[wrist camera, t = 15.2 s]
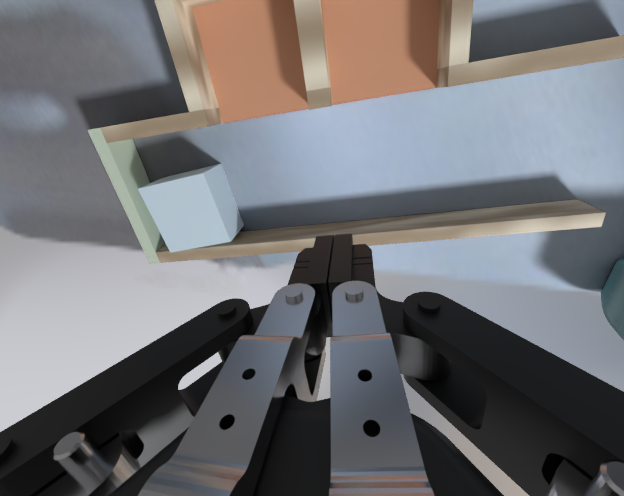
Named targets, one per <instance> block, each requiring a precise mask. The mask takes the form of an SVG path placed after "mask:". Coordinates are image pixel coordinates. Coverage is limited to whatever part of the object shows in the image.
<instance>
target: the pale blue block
mask: <svg viewBox="0 0 624 496" xmlns="http://www.w3.org/2000/svg"><path fill="white" fill-rule="evenodd" d="M138 191H139V193H140V194H141V196H142V198H143V200H144V202H145V204H146V206H147V208H148V210H149V212H150V214H151V216H152V218H153V220H154V222H155V224H156V226H157V228H158V229H159V231H160V233H161V235H162V237H163V239H164V241H165V243H166V245H167V247H168V249H169V251H170V253H171V252H177V251H182V250H188V249H193V248H199V247H204V246H210V245H216V244H221V243H227V242H231V241H232V240H233V238H234V237H235V236H236V235H237V233H238V232H239V231H240V230H241V228H242V227H243V226H244V224H243V221H242V218H241V216H240V213H239V210H238V207H237V205H236V202H235V199H234V197H233V194H232V191H231V189H230V186H229V183H228V181H227V178H226V175H225V173H224V170H223V167H222V165H221V164H217V165H213V166H209V167H204V168H200V169H196V170H192V171H188V172H184V173H180V174H176V175H172V176H168V177H164V178H161V179H159V180H156V181H154V182H152V183H150V184H147V185H145V186H143V187H141V188H138Z"/></svg>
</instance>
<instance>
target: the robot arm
mask: <svg viewBox="0 0 624 496" xmlns="http://www.w3.org/2000/svg"><path fill="white" fill-rule="evenodd" d="M326 337H331V340H330V374H331V375H330V377H331V378H330V381H331V398H329V399H324V400H320V401H317V396H318V392H319V387H320V381H321V377H322V371H323V367H324V362H325V356H326V353H325V345H326ZM217 352H219V355H220V357H221V359H222V362H221V363H220V364H218V365H217V366H216V367H214V368H213V369H211V370H210V371H209V372H207V373H206V374H205V375H203V376H202V377H200V378H199V379H198V380H197V381H195V382H194V383H192V384H191V385H190V386H188V387H187V388H185V389H182V390H178V384H179V382H180V380H181V379H182V377H183V376H184V375H185V374H187V373H188V372H190V371H191V370H192V369H194V368H195V367H197V366H198V365H199V364H201V363H203V362H204V361H205V360H207V359H208V358H210V357H211V356H213V355H214V354H215V353H217ZM400 373H401V374H403V375H404V378H405V380H406V382H407V383H408V384H409V385H410V386H411V387H412V388H413V389H414V390H415V391H416V392H417V393H418V394H419V395H421V396H422V397H423V398H424V399H425V400H426V401H427V402H428V403H429V404H430V405H431V406H433V407H434V408H435V409H436V410H437V411H438V412H439V413H440V414H441V415H443V416H444V417H445V418H446V419H447V420H448V421H449V422H450V423H451V424H452V425H453V426H454V427H455V428H457V429H458V430H459V431H460V432H461V433H462V434H463V435H464V436H465V437H466V438H468V439H469V440H470V441H471V442H472V443H473V444H474V445H475V446H476V447H477V448H478V449H480V450H481V451H482V452H483V453H484V454H485V455H486V456H487V457H488V458H489V459H490V460H492V462H494V463H495V464H496V465H497V466H498V467H499V468H500V469H501V470H502V471H504V472H505V473H506V474H507V475H508V476H509V477H510V478H511V479H512V480H513V481H514V482H515V483H516V484H518V485H519V486H520V487H521V488H522V489H523V490H524V491H525V492H526V493H527V494H528V495H530V496H624V392H623V391H621V390H619V389H617V388H615V387H613V386H611V385H609V384H608V383H606V382H604V381H602V380H600V379H598V378H597V377H595V376H593V375H591V374H589V373H587V372H585V371H583V370H582V369H580V368H578V367H576V366H574V365H572V364H570V363H569V362H567V361H565V360H563V359H561V358H559V357H557V356H555V355H554V354H552V353H550V352H548V351H546V350H544V349H542V348H540V347H539V346H537V345H535V344H533V343H531V342H529V341H527V340H526V339H524V338H522V337H520V336H518V335H516V334H514V333H512V332H511V331H509V330H507V329H505V328H503V327H501V326H499V325H497V324H495V323H494V322H492V321H490V320H488V319H486V318H484V317H482V316H481V315H479V314H477V313H475V312H473V311H471V310H469V309H467V308H466V307H464V306H462V305H460V304H458V303H456V302H455V301H453V300H451V299H449V298H447V297H445V296H443V295H440V294H438V293H432V292H419V293H414V294H412V295H410V296H408V297H407V298H406V299H405V300H404V302H398V301H393V300H390V299H387V298H385V297H383V296H382V295H380V294H379V293H378V292H377V290H376V287H375V279H374V269H373V260H372V251H371V249H370V248H369V247H368V246H367V245H366V244H356V245H353V236H352V233H349V234H336V235H335V236H334V235H324V236H316V239H315V243H314V247H313V248H305V249H303V250H302V251H301V252H300V253H299V254H298V256H297V259H296V263H295V265H294V269H293V271H292V274H291V277H290V280H289V283H288V285H287V286H285V287H283V288H282V289H280V290H278V291H277V292H276V294H275V295H274V297H273V299H272V301H271V303H270V304H268V305H265V306H261V307H258V308H254V309H250V307H249V304H248V303H247V302H246V301H245V300H243V299H229V300H225V301H223V302H220V303H218V304H217V305H215V306H213V307H211V308H210V309H208V310H207V311H205V312H203V313H201V314H200V315H198V316H197V317H195V318H193V319H191V320H190V321H188V322H186V323H184V324H183V325H181V326H179V327H178V328H176V329H174V330H173V331H171V332H169V333H168V334H166V335H164V336H162V337H161V338H159V339H157V340H156V341H154V342H152V343H151V344H149V345H147V346H146V347H144V348H142V349H140V350H139V351H137V352H136V353H134V354H132V355H130V356H129V357H127V358H125V359H124V360H122V361H120V362H118V363H117V364H115V365H113V366H112V367H110V368H108V369H107V370H105V371H103V372H102V373H100V374H98V375H96V376H95V377H93V378H91V379H90V380H88V381H86V382H85V383H83V384H81V385H80V386H78V387H76V388H75V389H73V390H71V391H69V392H68V393H66V394H64V395H63V396H61V397H59V398H58V399H56V400H54V401H52V402H51V403H49V404H48V405H46V406H44V407H42V408H41V409H39V410H37V411H36V412H34V413H32V414H31V415H29V416H27V417H26V418H24V419H22V420H20V421H19V422H17V423H16V424H14V425H12V426H10V427H9V428H7V429H5V430H4V431H2V432H0V496H504V495H502V493H501V492H500V491H499V490H498V489H497V488H496V487H495V486H494V485H493V484H492V483H491V482H490V481H489V480H488V479H487V478H486V477H485V476H484V475H483V474H482V473H481V472H480V471H479V470H478V469H477V468H476V467H475V466H474V465H473V464H472V463H471V461H469V460H468V458H467V457H466V456H465V455H464V454H463V453H462V452H461V451H460V450H459V449H457V447H456V446H455V445H454V444H453V443H452V442H451V441H450V440H449V439H448V438H447V437H446V436H445V435H444V434H442V433H441V432H440V431H439V430H437V429H436V428H435V427H434V426H432V425H431V424H429V423H427V422H426V421H425V420H423V419H421V418H419V417H417V416H416V415H413V414H411V413H410V409H409V405H408V401H407V398H406V393H405V389H404V386H403V381H402V378H401V374H400Z"/></svg>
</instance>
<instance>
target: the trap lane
mask: <svg viewBox="0 0 624 496" xmlns="http://www.w3.org/2000/svg"><path fill="white" fill-rule="evenodd" d="M155 4H156V7H157V10H158V13H159V16H160V20H161V23H162V26H163V29H164V33H165V36H166V39H167V42H168V45H169V49H170V52H171V55H172V58H173V62H174V65H175V68H176V71H177V74H178V78H179V81H180V84H181V87H182V90H183V94H184V97H185V100H186V103H187V107H188V110H189V112H186V113H181V114H175V115H169V116H164V117H158V118H153V119H147V120H141V121H136V122H130V123H124V124H119V125H113V126H107V127H102V128H96V129H90V130H88V132H89V135H90V137H91V139H92V141H93V143H94V145H95V147H96V150H97V152H98V154H99V156H100V158H101V160H102V163H103V165H104V167H105V169H106V171H107V173H108V175H109V178H110V180H111V182H112V184H113V186H114V188H115V190H116V193H117V195H118V197H119V199H120V201H121V203H122V205H123V208H124V210H125V212H126V214H127V216H128V218H129V220H130V223H131V225H132V227H133V229H134V231H135V233H136V236H137V238H138V240H139V242H140V244H141V246H142V248H143V251H144V253H145V255H146V257H147V259H148V261H149V263H163V262H175V261H187V260H200V259H212V258H224V257H236V256H249V255H261V254H273V253H286V252H298V251H302V250H303V249H305V248H313V247H314V243H315V239H316V236H324V235H334V236H335V235H336V234H349V233H352V236H353V245H356V244H366V245H367V246H371V245H384V244H396V243H408V242H421V241H433V240H445V239H457V238H470V237H482V236H494V235H507V234H519V233H531V232H543V231H556V230H568V229H580V228H593V227H602V224H603V221H604V217H605V214H606V212H604V211H602V210H600V209H598V208H595V207H593V206H591V205H589V204H587V203H585V202H582V201H580V200H578V199H575V200H564V201H554V202H544V203H533V204H523V205H513V206H502V207H492V208H481V209H471V210H461V211H450V212H440V213H430V214H419V215H409V216H399V217H388V218H378V219H368V220H357V221H347V222H337V223H326V224H316V225H305V226H295V227H285V228H274V229H264V230H254V231H243V232H238V233H237V235H236V236H235V237H234V238H233V240H232V241H231V242H227V243H221V244H216V245H210V246H204V247H199V248H193V249H188V250H182V251H177V252H171V253H170V251H169V249H168V247H167V245H166V243H165V241H164V239H163V237H162V235H161V233H160V231H159V229H158V228H157V226H156V224H155V222H154V220H153V218H152V216H151V214H150V212H149V210H148V208H147V206H146V204H145V202H144V200H143V198H142V196H141V194H140V193H139V191H138V188H141V187H143V186H145V185H147V184H150V181H149V179H148V176H147V174H146V171H145V169H144V167H143V164H142V162H141V159H140V157H139V154H138V152H137V149H136V147H135V144H134V142H133V139H135V138H141V137H147V136H153V135H159V134H165V133H171V132H177V131H183V130H189V129H195V128H201V127H207V126H212V125H216V124H221V123H226V122H232V121H238V120H244V119H250V118H256V117H262V116H268V115H274V114H280V113H286V112H292V111H298V110H304V109H309V110H310V109H316V108H322V107H328V106H332V105H335V104H341V103H347V102H353V101H359V100H365V99H371V98H377V97H383V96H389V95H395V94H401V93H407V92H413V91H419V90H425V89H431V88H438V87H449V86H455V85H461V84H467V83H473V82H479V81H485V80H491V79H498V78H504V77H510V76H516V75H522V74H528V73H534V72H540V71H546V70H552V69H558V68H564V67H570V66H576V65H582V64H588V63H594V62H600V61H606V60H612V59H618V58H624V35H622V36H617V37H611V38H605V39H600V40H594V41H588V42H583V43H577V44H571V45H566V46H560V47H554V48H549V49H543V50H537V51H532V52H526V53H520V54H515V55H509V56H504V57H498V58H492V59H487V60H481V61H475V62H470V63H469V50H470V37H471V24H472V11H473V0H155Z"/></svg>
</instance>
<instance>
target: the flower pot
mask: <svg viewBox="0 0 624 496" xmlns="http://www.w3.org/2000/svg"><path fill="white" fill-rule="evenodd" d="M601 301H602V308H603V311H604V314H605V316H606V318H607V320H608V322H609V323H610V325H611V326H612V327H613V328H614V330H615V331H616V332H617V333H618V334H619V335H620V337H621V338H622V339H623V340H624V259H619V260H617V261H616V263H615V265H614V267H613V269H612V271H611V273H610V275H609V277H608V279H607V281H606V283H605V285H604V287H603V289H602V292H601Z"/></svg>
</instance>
